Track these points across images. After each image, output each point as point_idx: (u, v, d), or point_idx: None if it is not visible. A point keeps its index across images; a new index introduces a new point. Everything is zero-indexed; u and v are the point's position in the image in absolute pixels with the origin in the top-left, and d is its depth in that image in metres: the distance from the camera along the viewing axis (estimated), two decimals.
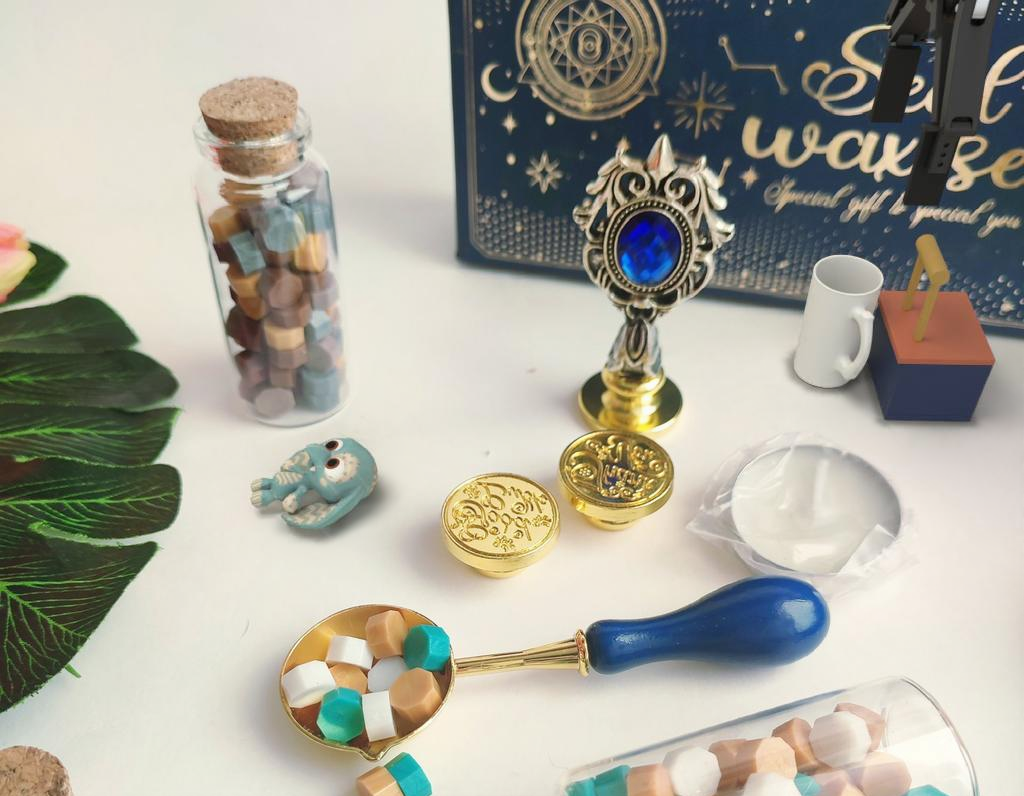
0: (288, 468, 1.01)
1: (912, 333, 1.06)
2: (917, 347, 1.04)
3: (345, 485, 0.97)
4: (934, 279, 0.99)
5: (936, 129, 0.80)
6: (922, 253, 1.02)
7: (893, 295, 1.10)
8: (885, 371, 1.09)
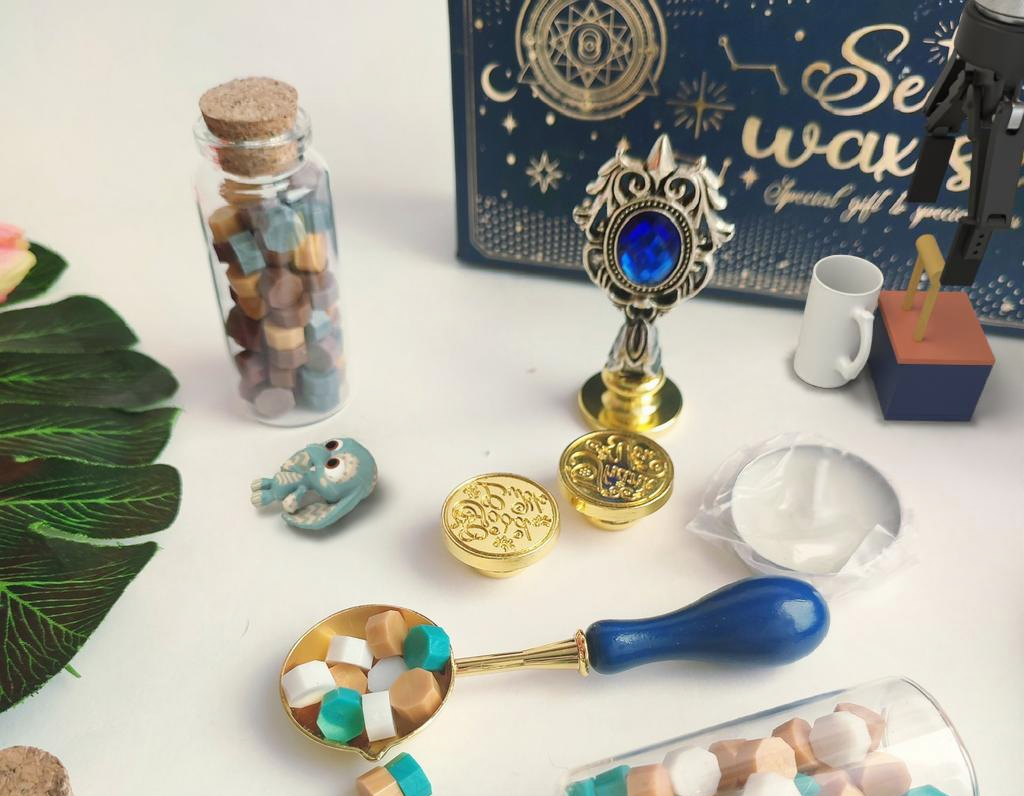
0: (288, 468, 1.01)
1: (912, 333, 1.06)
2: (917, 347, 1.04)
3: (345, 485, 0.97)
4: (934, 279, 0.99)
5: (973, 222, 0.89)
6: (922, 253, 1.02)
7: (893, 295, 1.10)
8: (885, 371, 1.09)
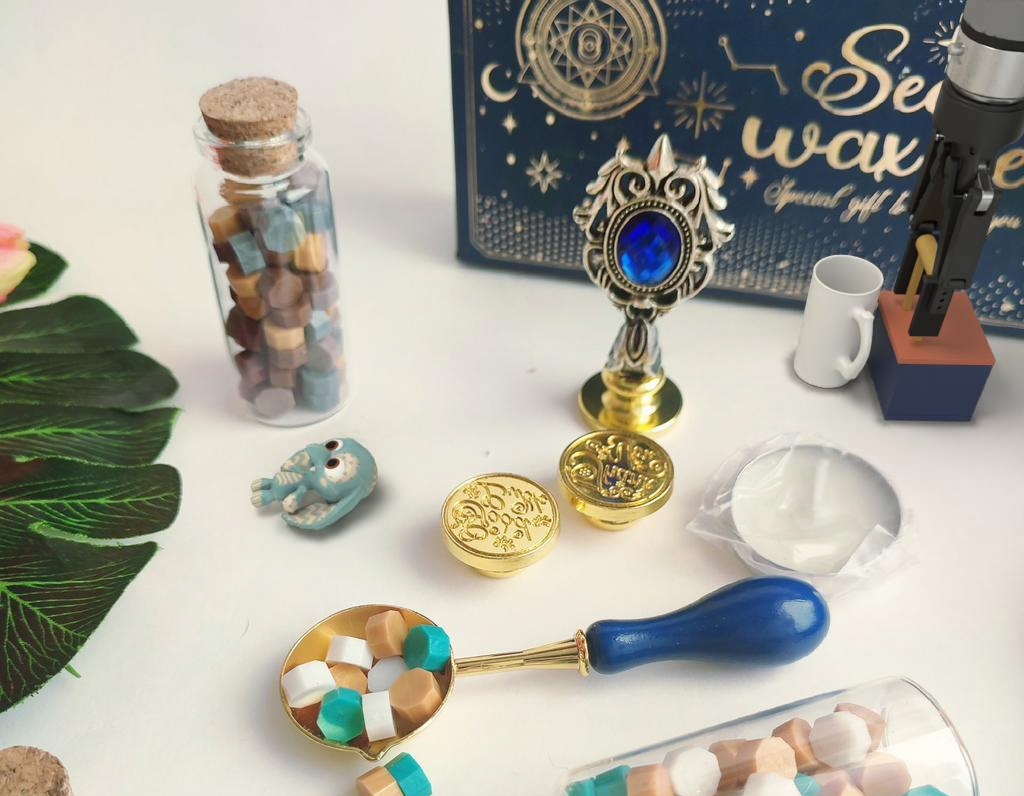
0: (288, 468, 1.01)
1: None
2: (917, 347, 1.04)
3: (345, 485, 0.97)
4: None
5: (935, 283, 0.98)
6: (922, 253, 1.02)
7: (893, 295, 1.10)
8: (885, 371, 1.09)
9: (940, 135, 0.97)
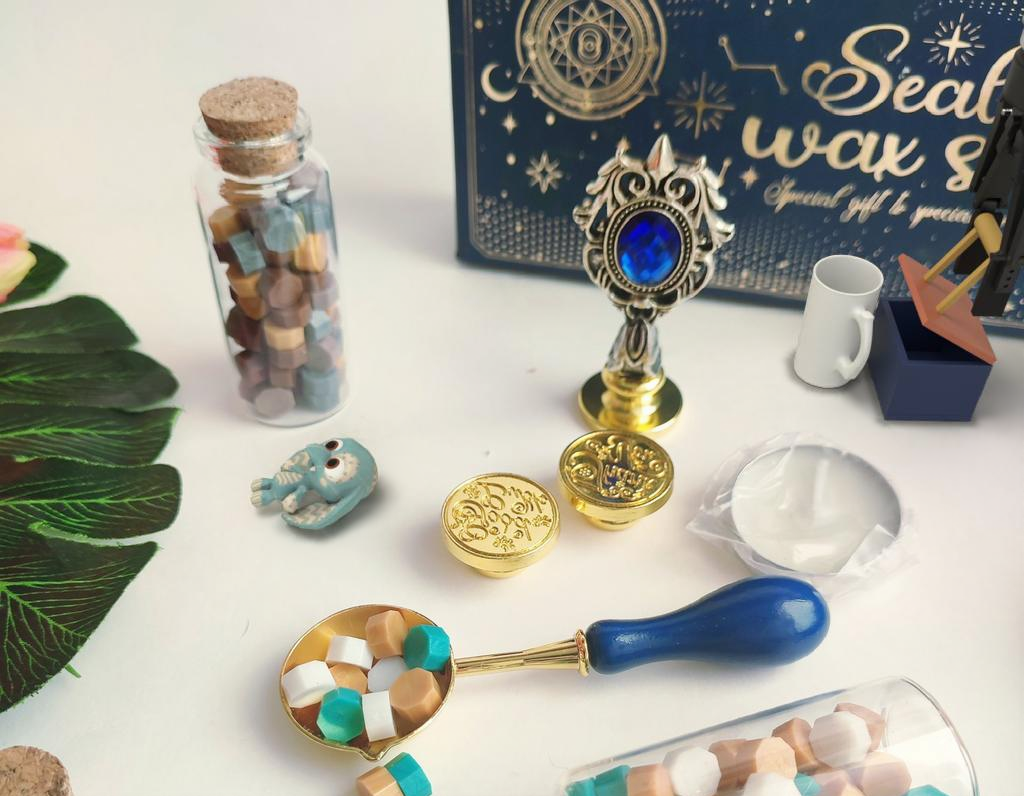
0: (288, 468, 1.01)
1: (934, 304, 1.03)
2: (939, 318, 1.02)
3: (345, 485, 0.97)
4: None
5: (1002, 260, 0.96)
6: (985, 228, 0.99)
7: (915, 264, 1.07)
8: (885, 371, 1.09)
9: (1007, 110, 0.95)
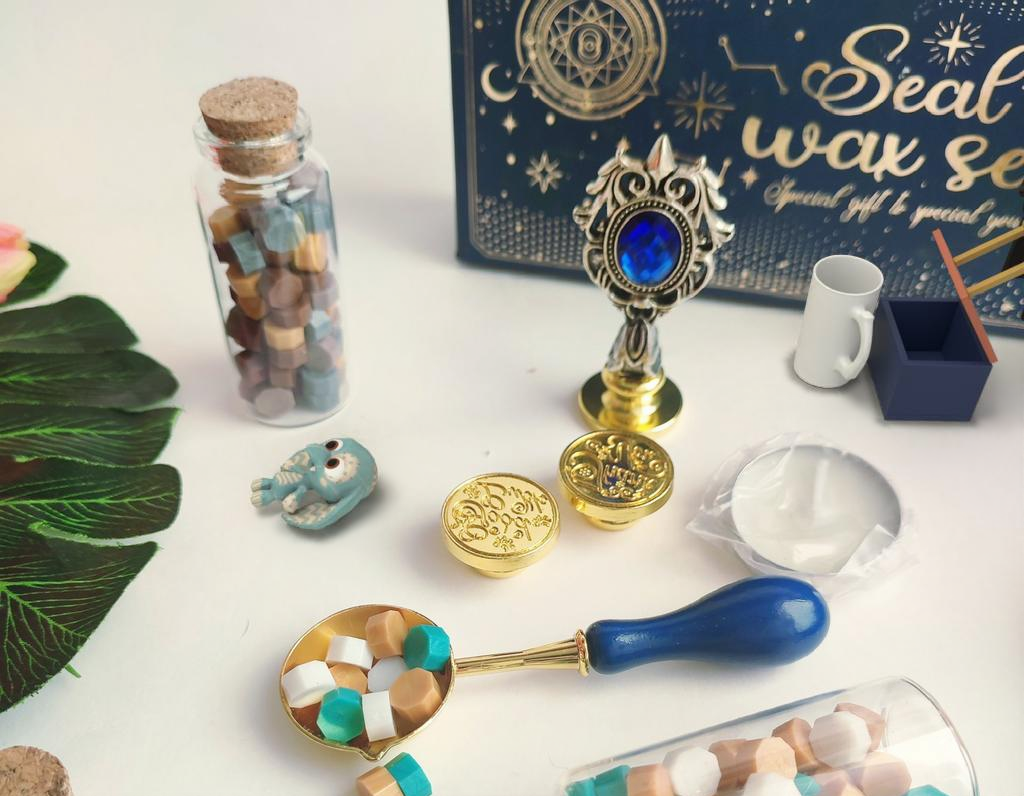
0: (288, 468, 1.01)
1: None
2: None
3: (345, 485, 0.97)
4: None
5: None
6: None
7: (946, 244, 1.05)
8: (885, 371, 1.09)
9: None
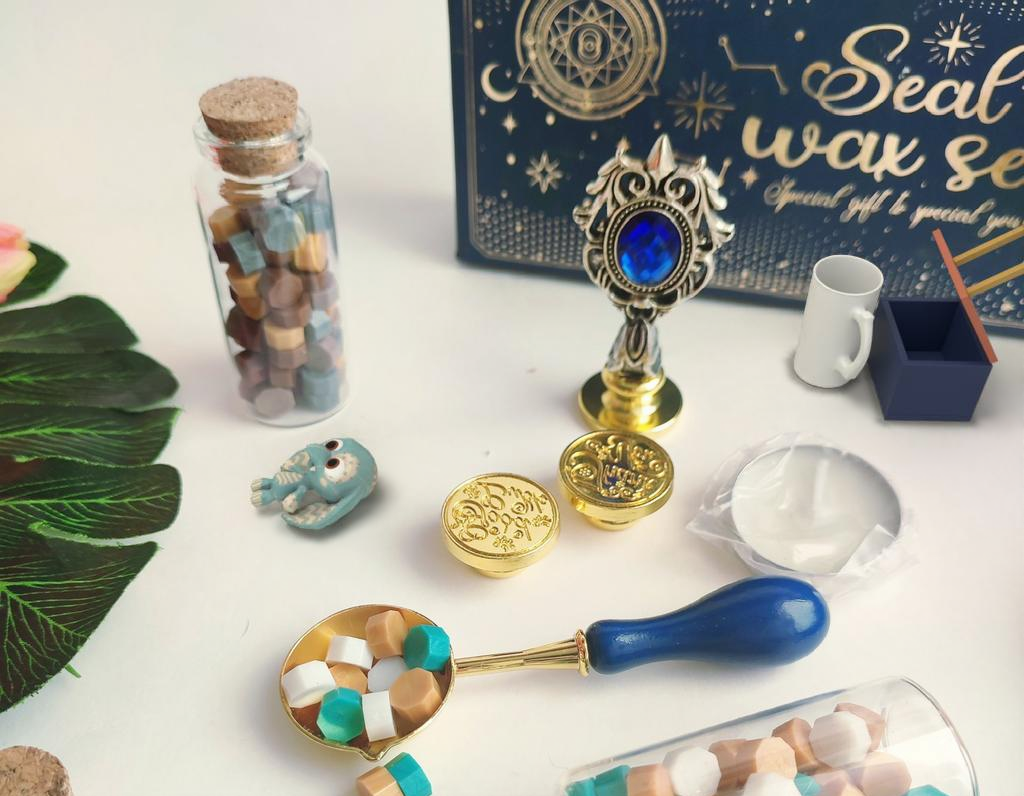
0: (288, 468, 1.01)
1: None
2: None
3: (345, 485, 0.97)
4: None
5: None
6: None
7: (946, 244, 1.05)
8: (885, 371, 1.09)
9: None
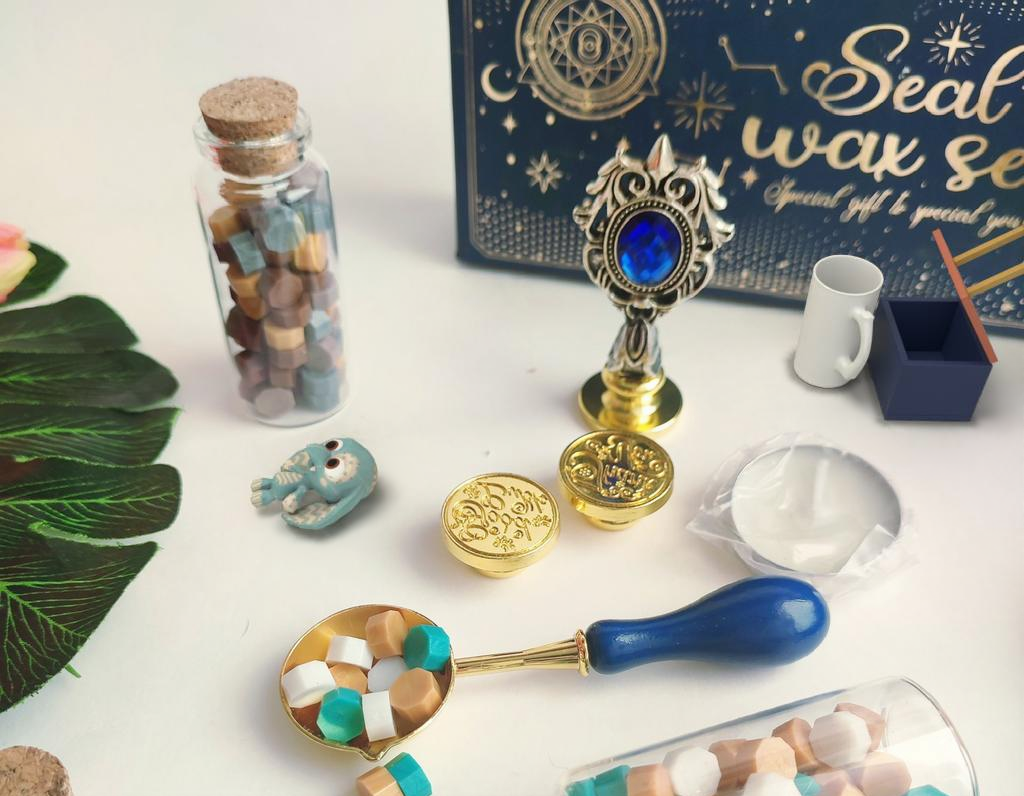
0: (288, 468, 1.01)
1: None
2: None
3: (345, 485, 0.97)
4: None
5: None
6: None
7: (946, 244, 1.05)
8: (885, 371, 1.09)
9: None
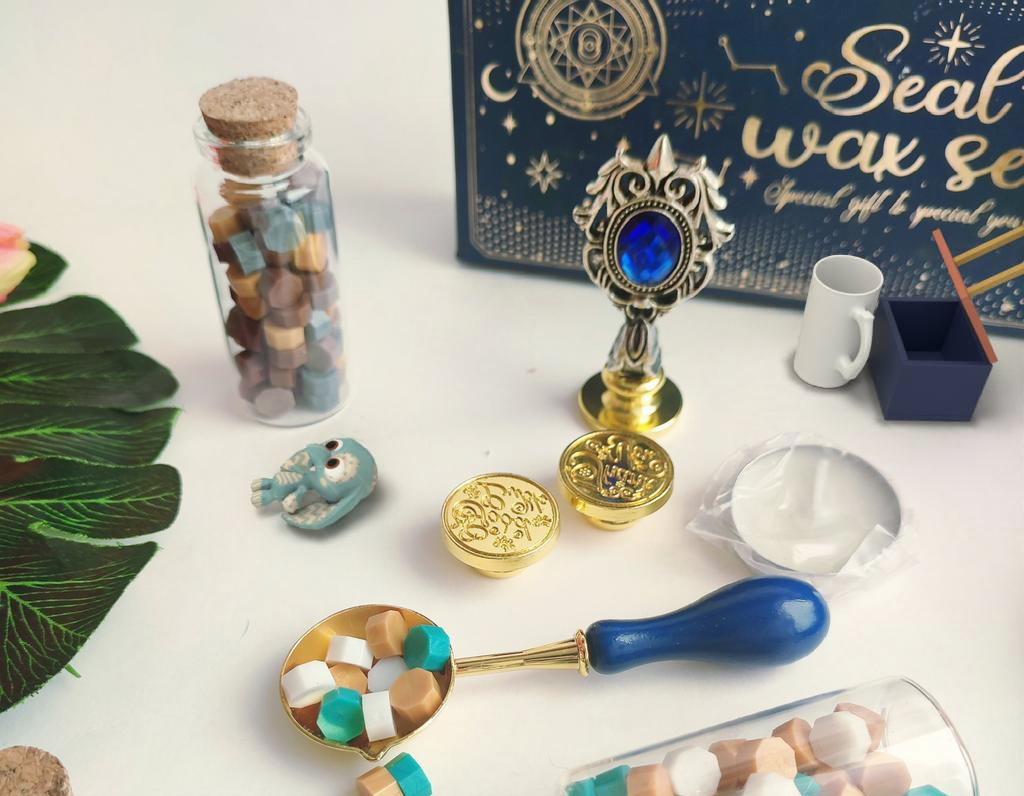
0: (288, 468, 1.01)
1: None
2: None
3: (345, 485, 0.97)
4: None
5: None
6: None
7: (946, 244, 1.05)
8: (885, 371, 1.09)
9: None
